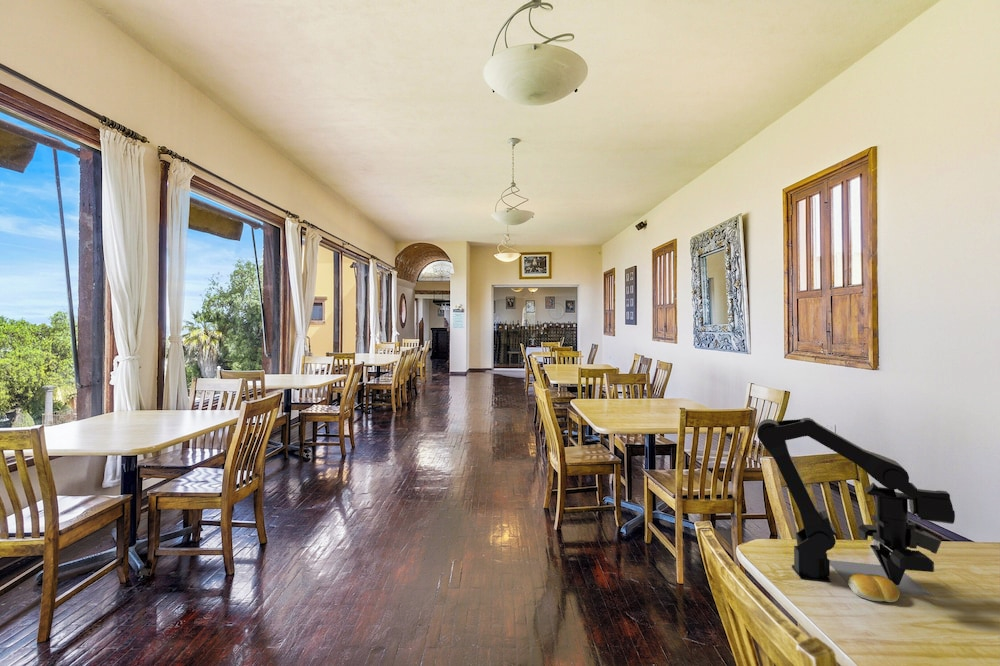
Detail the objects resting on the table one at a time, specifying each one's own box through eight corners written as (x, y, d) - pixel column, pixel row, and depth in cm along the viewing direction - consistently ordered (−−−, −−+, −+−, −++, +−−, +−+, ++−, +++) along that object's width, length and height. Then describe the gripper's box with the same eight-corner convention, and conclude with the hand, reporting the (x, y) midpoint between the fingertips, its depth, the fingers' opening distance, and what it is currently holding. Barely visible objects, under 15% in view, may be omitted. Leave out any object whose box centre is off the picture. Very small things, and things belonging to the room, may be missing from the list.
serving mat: (853, 589, 109) (853, 588, 109) (826, 560, 123) (826, 559, 123) (933, 597, 105) (933, 596, 105) (896, 567, 119) (896, 566, 119)
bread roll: (908, 604, 101) (907, 586, 101) (861, 602, 103) (860, 585, 103) (885, 583, 109) (884, 566, 109) (842, 581, 111) (841, 565, 111)
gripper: (963, 534, 97) (966, 610, 96) (908, 504, 115) (910, 567, 114) (900, 530, 99) (903, 604, 99) (856, 501, 117) (858, 563, 117)
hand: (894, 583), depth 107 cm, fingers closed
